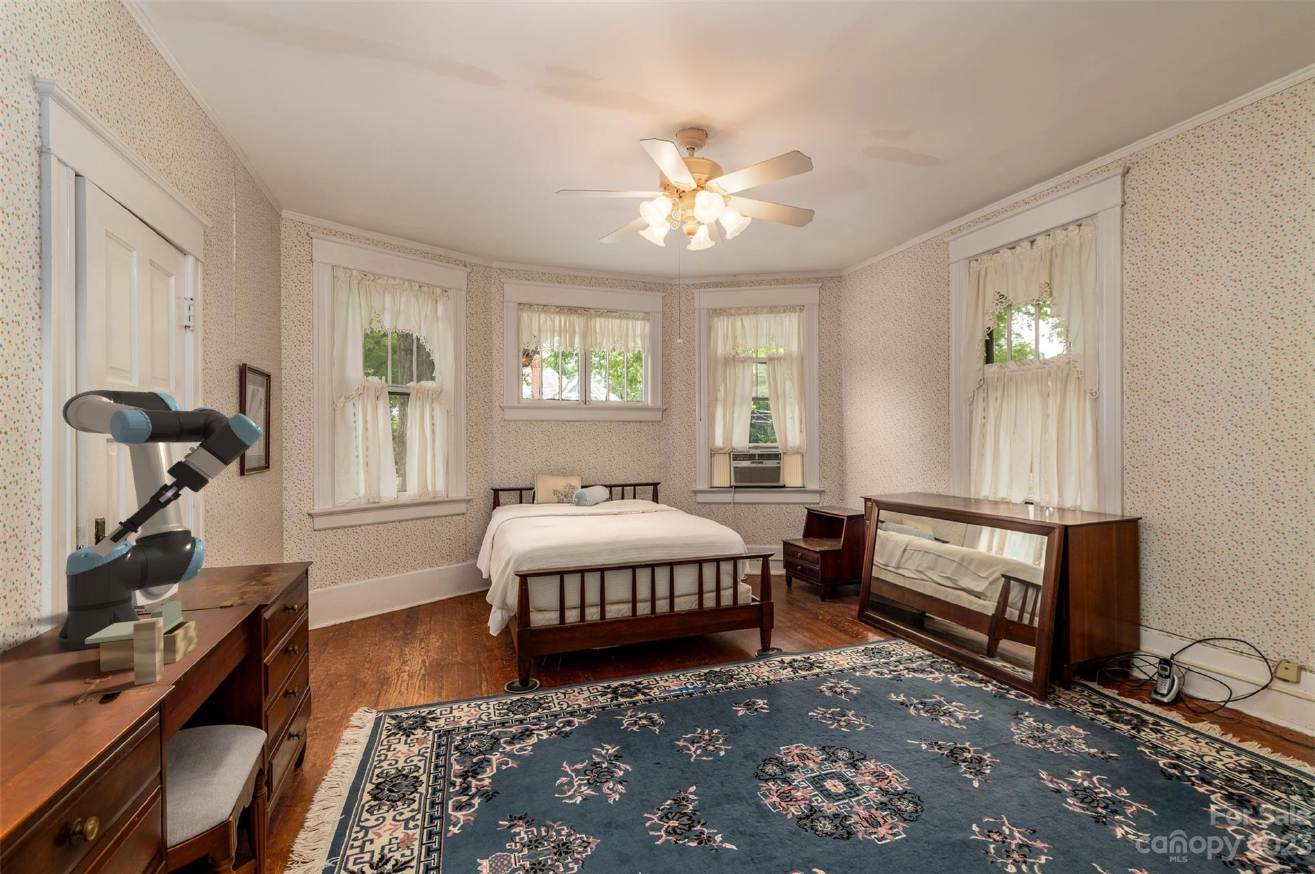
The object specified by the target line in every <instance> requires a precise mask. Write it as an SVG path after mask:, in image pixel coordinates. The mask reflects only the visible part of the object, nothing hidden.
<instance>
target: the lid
mask: <svg viewBox="0 0 1315 874" xmlns="http://www.w3.org/2000/svg"><path fill="white" fill-rule="evenodd" d="M182 613H183V612H182V599H181V600H180V599H179V600H178V599H177V600H171V601H170V602H168V603H166V604H163V605H160V606H159V607H158V608H157V609H154V610H153V611H151V612H150V619H151V618H160V617H163V633H165V632H166V631H168V630H169V629H171V628H172V627H174V626H175V625H177V624H178V623H180V622H181V621H184V617H183V615H182ZM137 622H138V621H131V622H122V623H114V624H112V625H110V626H108V627H107V628H105V629H103V630H101V631H99V632H97V633H96V634H94V635H92V636H90V637H88V638H86V639H85V644H90V643H99V642H108V641H117V640H125V639H134V628H133V624H135V623H137Z"/></svg>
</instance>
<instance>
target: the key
mask: <svg viewBox="0 0 1315 874" xmlns="http://www.w3.org/2000/svg"><path fill="white" fill-rule="evenodd" d="M110 679H112V675H104V674H103V675H97V676H92V677H89V678H87V679H86V680H85V683H86V684H89V686H88V688H86V690H85V691H84V693H83V694H82V695H81V696H80V697H79V698H78V699H77V701H75V703H74V704H78V705H80V704H79V703H80V702H83V703H86V702H85V701H83V700H92V701H97V700H98V699H100V697H101V696H102V695H103V694H104V692H101V693H92V691H93V690H94V689H95V688H96V687H97V686H98V685H99V683H101V682H105V681H108V680H110ZM90 693H92V694H90ZM97 698H98V699H97Z"/></svg>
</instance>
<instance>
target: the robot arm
mask: <svg viewBox="0 0 1315 874" xmlns="http://www.w3.org/2000/svg"><path fill="white" fill-rule="evenodd" d="M61 412H62V416H63V420H64V422H65V423H66V424H67V425H68V426H69V427H71V428H73V429H75V430H77V431H80V432H84V433H88V434H89V433H91V434H108V435H111V437H112V438H113V440H114V441H115V442H117V443H119V444H123V445H125V446H127V447H128V449H129V455H130V462H131V463H130V464H131V468H132V469H131V470H132V475H133V477H132V478H133V482H134V491H135V497H136V503H137V509H138V510H137V511H136V512H135V513H133V514H132V515H131V516H130V517H127V519H125V520H124V521H121V520H120V521H119V522H118V523H117V524H118V527H116V528H114V530H113V531H111V532H110V533H109V534H108V535H107V536H105V537H104V538H103V539H101V541H99V542H98V543H97V544H94V545H90V546H85V547H83V548H79V549H78V550H74V551H72V552H70V554H69V555H68V556H67V559H66V569H65V571H64V573H65V576H66V608H67V609H66V610H67V611H66V616H65V618H64V621H63V624H62V625H61V628H60V631H59V633H58V637H57V640H56V641H57V646H56V647H57V649H59V650H63V651H77V650H78V651H79V650H87V649H93V648H98V647H99V648H100V643H102V642H99V643H90V644H85V639H86V638H88V637H90V636H92V635H94V634H96V633H97V632H99V631H101V630H103V629H105V628H107V627H108V626H110V625H112V624H114V623H122V622H131V621H140V620H141V619H140V618H139V615H138V612H136V611H135V609H134V607H133V604H132V591H137V590H142V589H147V588H152V587H158V586H163V585H169V584H177V583H178V584H179V583H182V582H187V581H191V580H193V579H195V578H196V577H197V576H198V575H199V573H200V572H201V569H202V568H203V565H204V560H205V546H204V543H203V541H202V539H201V537H198V536H193V535H192V530H191V529H190V528H188V527H186V526H185V525H184V524H183V518H182V512H181V506H180V499H179V498H180V497H181V496H182V494H181V493H180V492H181V491H183V490H184V489H185V488H188V489H189V490H190V491H192V492H193V493H199V492H200V491H201V490H202V489H203V488H204V487H206V486H207V485H208V484H209V483H210V479H212V480H214V479H215V478H217V476H219V475H220V474H221V473H222V472H223V471H225V469H226V468H228V466H230V465H231V464H232V463H233V462H235V461H236V460H237V459H238V458H239V457H241V456H242V455H243V454H244V453H245V452H247V451H248V450H249V449H250V448H251V447H253V446H254V444H255V443H256V442H257V441H258V440H259V439H261V437H263V435H264V432H263V430H262V428H260V426H259V425H257V424H256V423H255V422H254V421H253V420H251V419H250V418H249V417H248V416H246V415H244V414H243V413H236V414H234V415H232V416H230V417H229V416H226V415H225V414H223V413H222V412H220V411H219V410H216V409H213V408H211V407H206V406H203V407H202V406H201V407H197V408H195V409H192V410H182V409H181V406H180V403H178V401H177V400H176V398H175V397H174V396H172V395H170V394H168V393H163V392H155V391H131V390H130V391H129V390H127V391H126V390H110V389H98V390H97V389H95V390H89V391H83V392H80V393H77V394H75V395H73V396H72V397H70V398H69V399H68V400H66V402H65V403H64V405H63V407H62V411H61ZM172 443H173V444H175V443H176V444H177V443H179V444H180V443H181V444H182V443H191V444H192V443H199V444H198V445H197V446H196V448H195V447H193V446H191V447H189V448H188V450H189V452H188V453H187V454H185V455H184V457H183V459H184V460H183V461H182V460H178V461H177V462H176V463H174V462H173V455H172V448H171V444H172ZM139 528H140V529H141V532H140V533H139ZM133 533H135V534H137V533H139V535H138V536H137V537H135V539H134V542H135V543H136V545H132V544H133V543H131V541H129V540H126V539H127V538H129V537H130V536H131V535H132V534H133Z"/></svg>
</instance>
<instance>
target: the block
mask: <svg viewBox="0 0 1315 874" xmlns="http://www.w3.org/2000/svg"><path fill="white" fill-rule="evenodd" d="M133 628H134V668H133V671H134V673H133V674H134V686H137V685H143V684H150V683H151V684H152V683H157V682H158V681H159V680H161V679H162V678H163V677H164V676H165V669H164V668H165V666H164V665H165V664H164V655H163V617H160V618H151V617H150V618H145V619H144V618H143V619H142V618H141V619H140V621H138V622H137V623H135V624H133Z"/></svg>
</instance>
